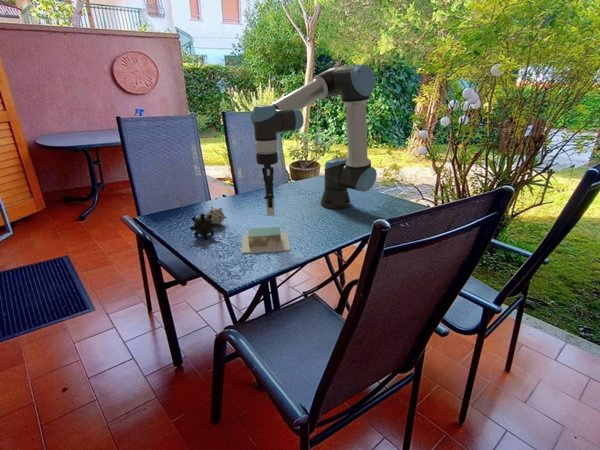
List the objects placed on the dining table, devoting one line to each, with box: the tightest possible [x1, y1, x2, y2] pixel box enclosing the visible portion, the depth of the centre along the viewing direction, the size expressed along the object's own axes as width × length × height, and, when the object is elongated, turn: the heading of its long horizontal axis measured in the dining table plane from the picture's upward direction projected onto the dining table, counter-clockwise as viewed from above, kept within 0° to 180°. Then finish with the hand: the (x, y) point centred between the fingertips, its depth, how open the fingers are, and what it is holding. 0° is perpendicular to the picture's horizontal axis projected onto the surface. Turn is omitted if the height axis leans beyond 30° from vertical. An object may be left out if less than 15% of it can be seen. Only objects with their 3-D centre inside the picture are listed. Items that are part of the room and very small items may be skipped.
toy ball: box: [189, 213, 218, 241], centre depth 137 cm, size 11×11×12 cm
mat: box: [240, 232, 292, 255], centre depth 132 cm, size 18×16×1 cm
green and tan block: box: [247, 226, 281, 247], centre depth 131 cm, size 4×8×12 cm
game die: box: [204, 206, 228, 227], centre depth 148 cm, size 9×8×10 cm
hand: (270, 209), depth 127 cm, fingers open, 13 cm apart
